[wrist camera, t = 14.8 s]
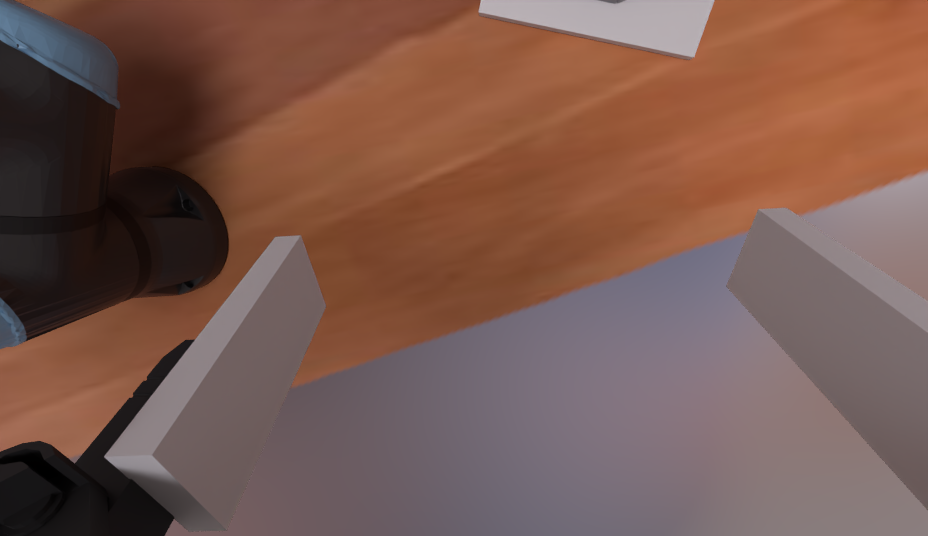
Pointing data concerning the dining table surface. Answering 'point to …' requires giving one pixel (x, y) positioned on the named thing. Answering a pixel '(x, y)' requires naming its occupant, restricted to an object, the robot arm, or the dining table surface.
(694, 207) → the dining table surface
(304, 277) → the robot arm
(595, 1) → the ring dock
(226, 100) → the dining table surface
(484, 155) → the dining table surface
